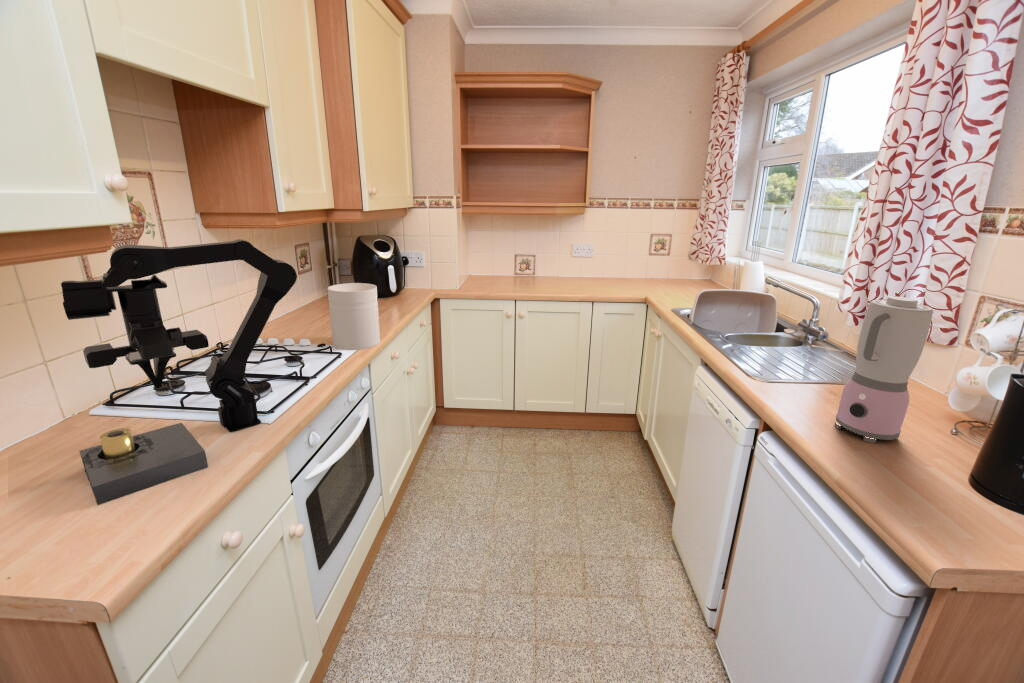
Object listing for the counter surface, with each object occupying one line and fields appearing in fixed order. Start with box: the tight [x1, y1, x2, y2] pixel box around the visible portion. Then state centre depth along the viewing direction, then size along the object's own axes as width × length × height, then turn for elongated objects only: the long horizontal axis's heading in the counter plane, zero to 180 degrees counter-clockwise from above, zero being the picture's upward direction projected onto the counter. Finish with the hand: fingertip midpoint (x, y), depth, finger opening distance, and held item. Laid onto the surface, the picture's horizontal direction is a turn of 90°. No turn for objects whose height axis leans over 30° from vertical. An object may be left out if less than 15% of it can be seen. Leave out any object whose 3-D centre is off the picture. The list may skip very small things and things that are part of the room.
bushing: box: [99, 427, 136, 460], centre depth 86 cm, size 4×4×7 cm
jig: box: [79, 422, 209, 506], centre depth 86 cm, size 16×16×4 cm
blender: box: [834, 295, 934, 444], centre depth 103 cm, size 16×12×32 cm
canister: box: [327, 282, 381, 351], centre depth 160 cm, size 16×16×20 cm
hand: (158, 387), depth 92 cm, fingers closed
